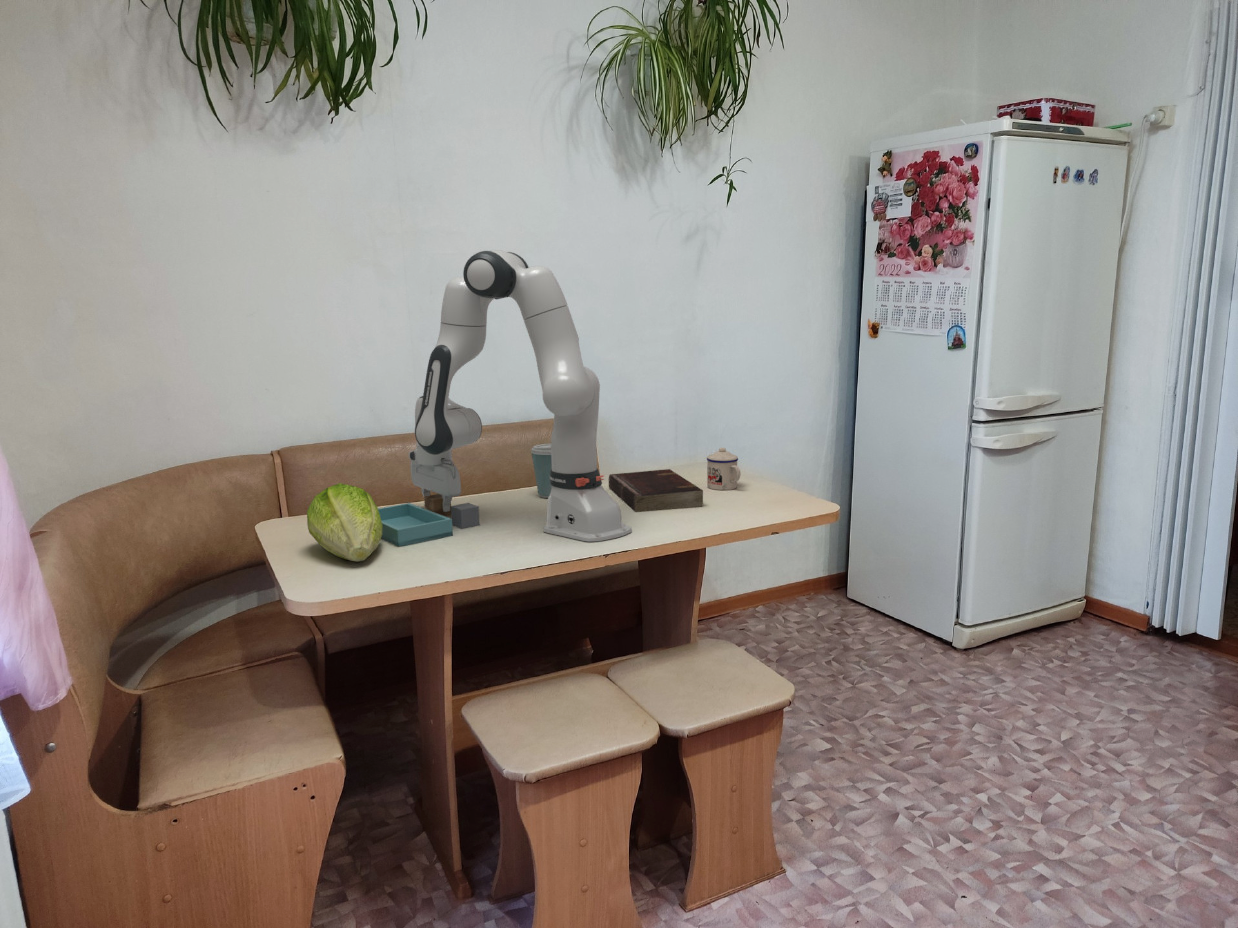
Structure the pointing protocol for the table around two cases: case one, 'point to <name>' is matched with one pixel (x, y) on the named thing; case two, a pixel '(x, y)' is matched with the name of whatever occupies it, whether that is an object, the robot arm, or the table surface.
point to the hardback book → (655, 490)
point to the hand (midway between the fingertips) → (437, 507)
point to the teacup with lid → (722, 470)
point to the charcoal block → (465, 515)
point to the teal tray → (412, 524)
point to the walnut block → (435, 504)
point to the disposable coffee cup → (542, 468)
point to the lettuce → (345, 522)
